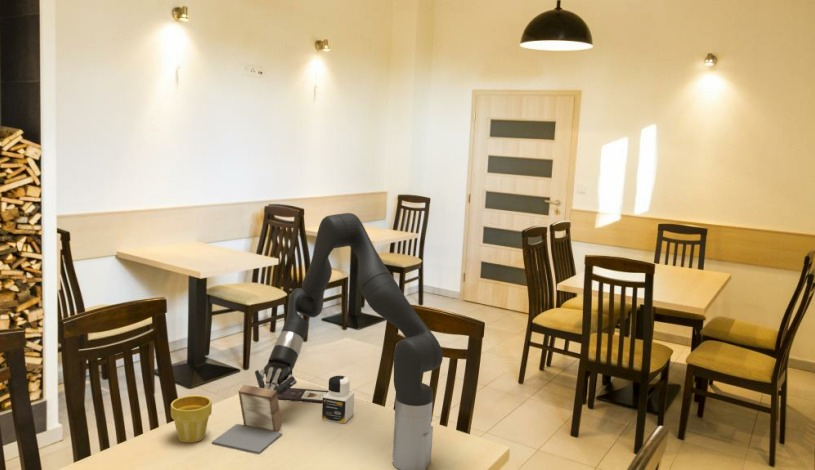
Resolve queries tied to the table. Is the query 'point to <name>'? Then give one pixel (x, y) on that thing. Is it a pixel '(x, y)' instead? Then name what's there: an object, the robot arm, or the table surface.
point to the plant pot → (191, 417)
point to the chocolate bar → (303, 395)
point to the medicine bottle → (338, 400)
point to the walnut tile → (260, 408)
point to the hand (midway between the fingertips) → (264, 405)
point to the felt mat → (247, 438)
